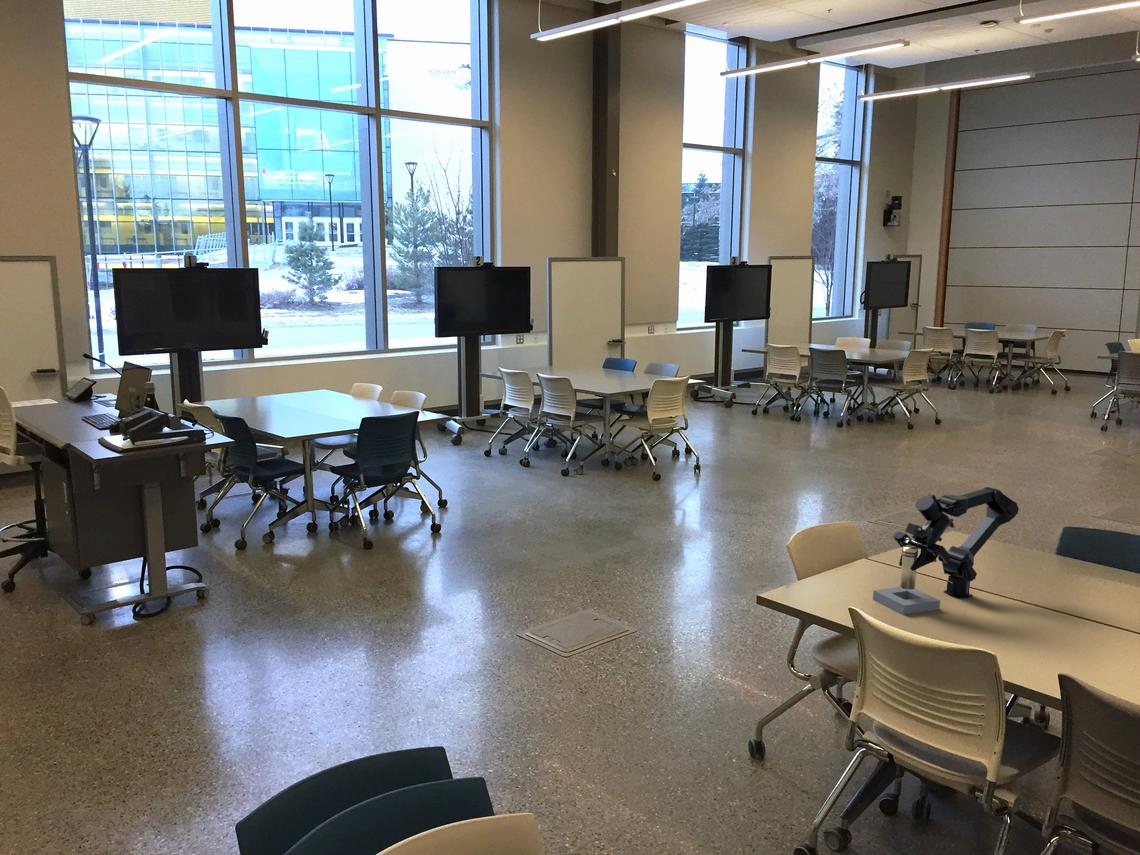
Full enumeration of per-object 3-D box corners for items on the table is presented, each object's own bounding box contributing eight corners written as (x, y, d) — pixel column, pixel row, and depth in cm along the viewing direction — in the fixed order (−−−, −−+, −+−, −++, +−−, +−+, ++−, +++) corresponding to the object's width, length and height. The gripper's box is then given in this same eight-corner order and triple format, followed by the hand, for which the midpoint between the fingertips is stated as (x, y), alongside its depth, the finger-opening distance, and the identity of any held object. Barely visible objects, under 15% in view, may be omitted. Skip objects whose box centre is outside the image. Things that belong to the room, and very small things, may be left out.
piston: (913, 584, 280) (915, 545, 278) (917, 590, 276) (920, 550, 274) (897, 584, 281) (900, 544, 279) (902, 589, 276) (904, 549, 274)
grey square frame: (907, 594, 288) (908, 585, 288) (939, 609, 275) (940, 600, 275) (872, 599, 283) (873, 590, 283) (903, 614, 271) (904, 605, 270)
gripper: (899, 507, 284) (871, 544, 281) (946, 521, 268) (917, 561, 265) (915, 527, 289) (887, 564, 286) (962, 543, 273) (934, 582, 270)
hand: (905, 567), depth 277 cm, fingers closed on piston, 4 cm apart
